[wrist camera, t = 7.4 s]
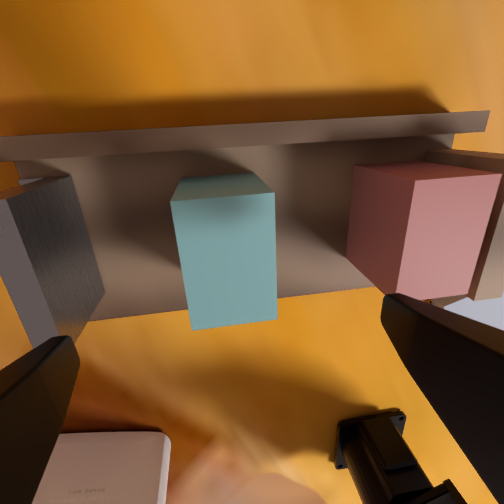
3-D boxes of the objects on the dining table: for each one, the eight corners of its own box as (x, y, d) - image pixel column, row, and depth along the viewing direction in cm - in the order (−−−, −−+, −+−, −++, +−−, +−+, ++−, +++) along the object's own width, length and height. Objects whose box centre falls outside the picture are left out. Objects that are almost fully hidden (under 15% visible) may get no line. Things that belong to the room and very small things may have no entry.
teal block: (258, 267, 19) (277, 318, 14) (195, 274, 18) (192, 330, 13) (253, 172, 16) (274, 192, 11) (181, 178, 16) (170, 201, 11)
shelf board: (417, 276, 22) (490, 328, 16) (76, 317, 19) (22, 396, 13) (451, 112, 17) (567, 106, 12) (12, 136, 15) (-107, 142, 9)
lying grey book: (488, 332, 26) (507, 347, 24) (435, 354, 26) (451, 369, 24) (486, 269, 23) (508, 280, 21) (427, 294, 23) (443, 306, 21)
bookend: (105, 292, 18) (67, 355, 13) (63, 297, 18) (8, 363, 13) (71, 175, 15) (6, 199, 10) (21, 178, 15) (-72, 204, 10)
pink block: (401, 251, 20) (467, 294, 15) (345, 258, 19) (394, 303, 14) (417, 160, 17) (502, 173, 12) (353, 164, 17) (415, 180, 12)
